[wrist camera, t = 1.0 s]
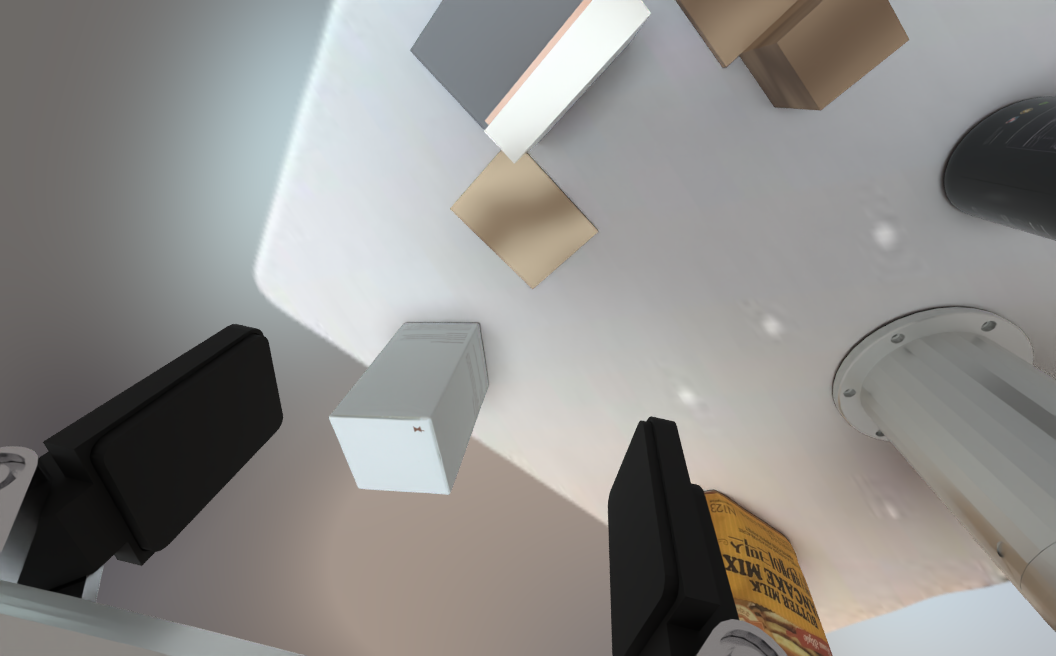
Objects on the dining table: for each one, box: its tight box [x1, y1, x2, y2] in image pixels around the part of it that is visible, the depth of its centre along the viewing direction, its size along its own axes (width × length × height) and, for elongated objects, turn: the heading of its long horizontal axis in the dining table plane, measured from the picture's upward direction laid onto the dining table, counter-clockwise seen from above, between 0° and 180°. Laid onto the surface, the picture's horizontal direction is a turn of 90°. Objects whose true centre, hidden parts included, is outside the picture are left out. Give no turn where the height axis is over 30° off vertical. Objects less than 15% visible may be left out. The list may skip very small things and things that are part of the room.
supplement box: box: [329, 323, 489, 495], centre depth 33 cm, size 7×7×13 cm
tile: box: [484, 0, 651, 164], centre depth 22 cm, size 2×8×10 cm, turn 135°
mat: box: [410, 0, 583, 130], centre depth 25 cm, size 7×12×1 cm, turn 135°
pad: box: [450, 150, 598, 289], centre depth 31 cm, size 9×7×1 cm
